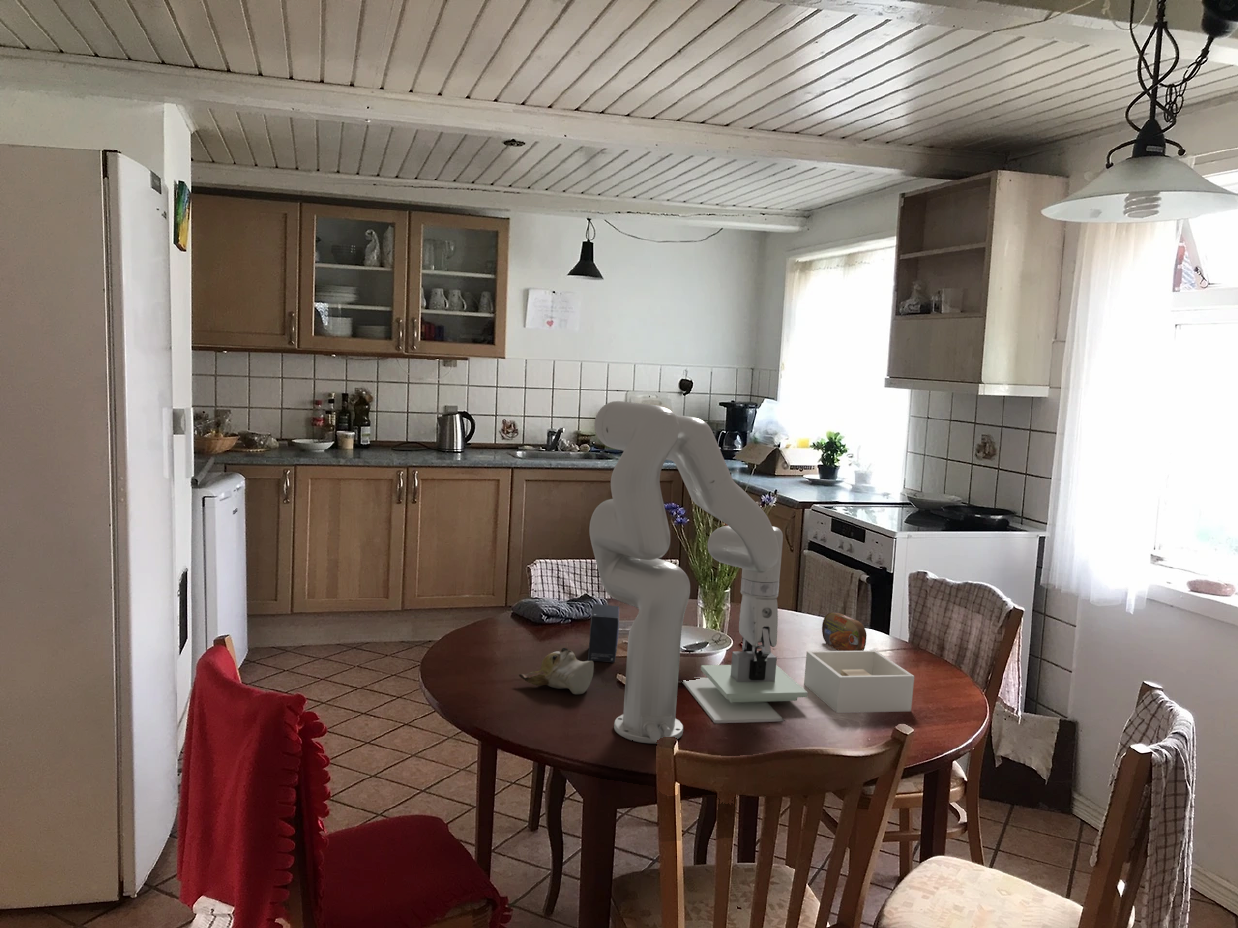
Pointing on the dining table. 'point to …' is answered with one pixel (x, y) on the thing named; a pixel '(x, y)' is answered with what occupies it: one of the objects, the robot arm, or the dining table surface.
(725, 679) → the lid
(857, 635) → the tin
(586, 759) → the dining table surface
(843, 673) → the ash block
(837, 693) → the storage box
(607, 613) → the small box
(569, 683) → the ceramic sculpture
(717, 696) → the mat
